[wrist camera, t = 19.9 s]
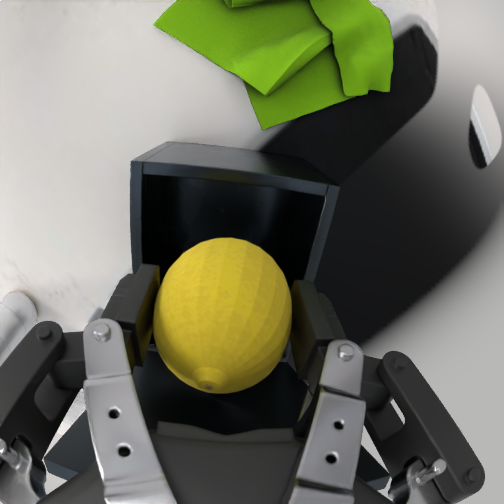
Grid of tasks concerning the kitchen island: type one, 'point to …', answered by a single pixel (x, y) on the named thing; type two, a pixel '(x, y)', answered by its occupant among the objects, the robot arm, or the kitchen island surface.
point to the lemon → (222, 316)
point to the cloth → (289, 49)
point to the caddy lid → (203, 415)
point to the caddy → (229, 206)
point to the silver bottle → (15, 321)
